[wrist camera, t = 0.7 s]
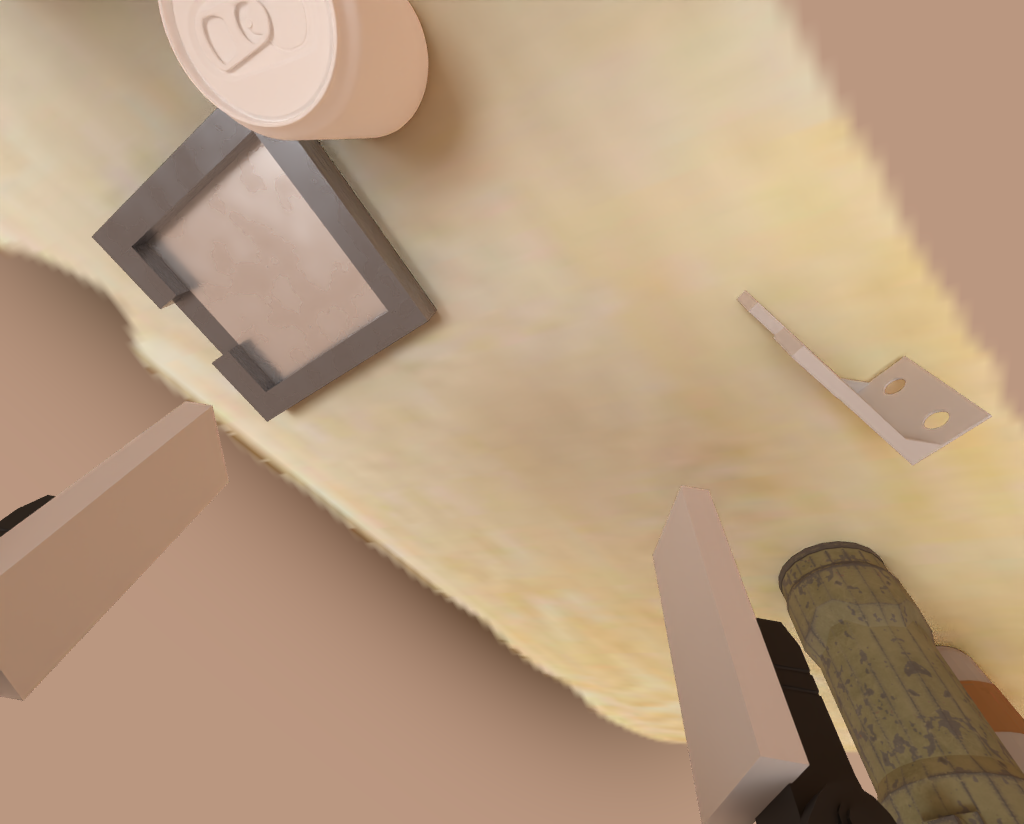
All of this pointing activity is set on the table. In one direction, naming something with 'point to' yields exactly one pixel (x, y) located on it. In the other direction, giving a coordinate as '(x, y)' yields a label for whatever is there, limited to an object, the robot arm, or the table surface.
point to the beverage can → (303, 63)
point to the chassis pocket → (266, 261)
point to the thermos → (898, 692)
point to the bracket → (886, 396)
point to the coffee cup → (989, 702)
